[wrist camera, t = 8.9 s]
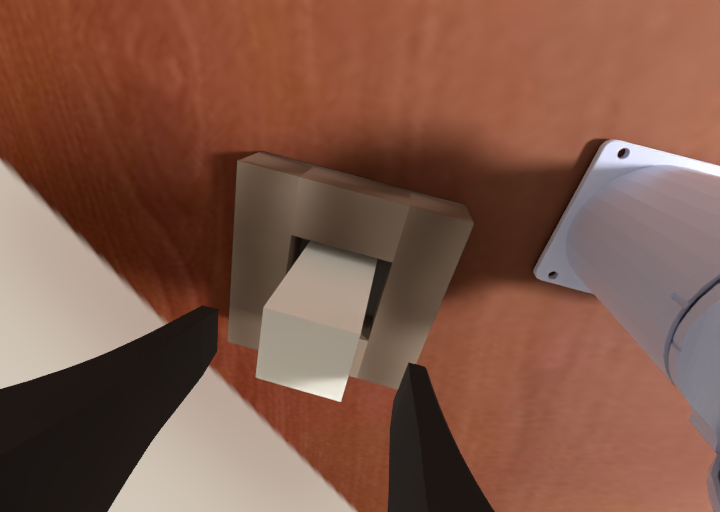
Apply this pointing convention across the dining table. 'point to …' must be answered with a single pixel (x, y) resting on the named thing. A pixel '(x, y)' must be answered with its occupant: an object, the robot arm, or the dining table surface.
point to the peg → (316, 321)
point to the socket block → (349, 232)
